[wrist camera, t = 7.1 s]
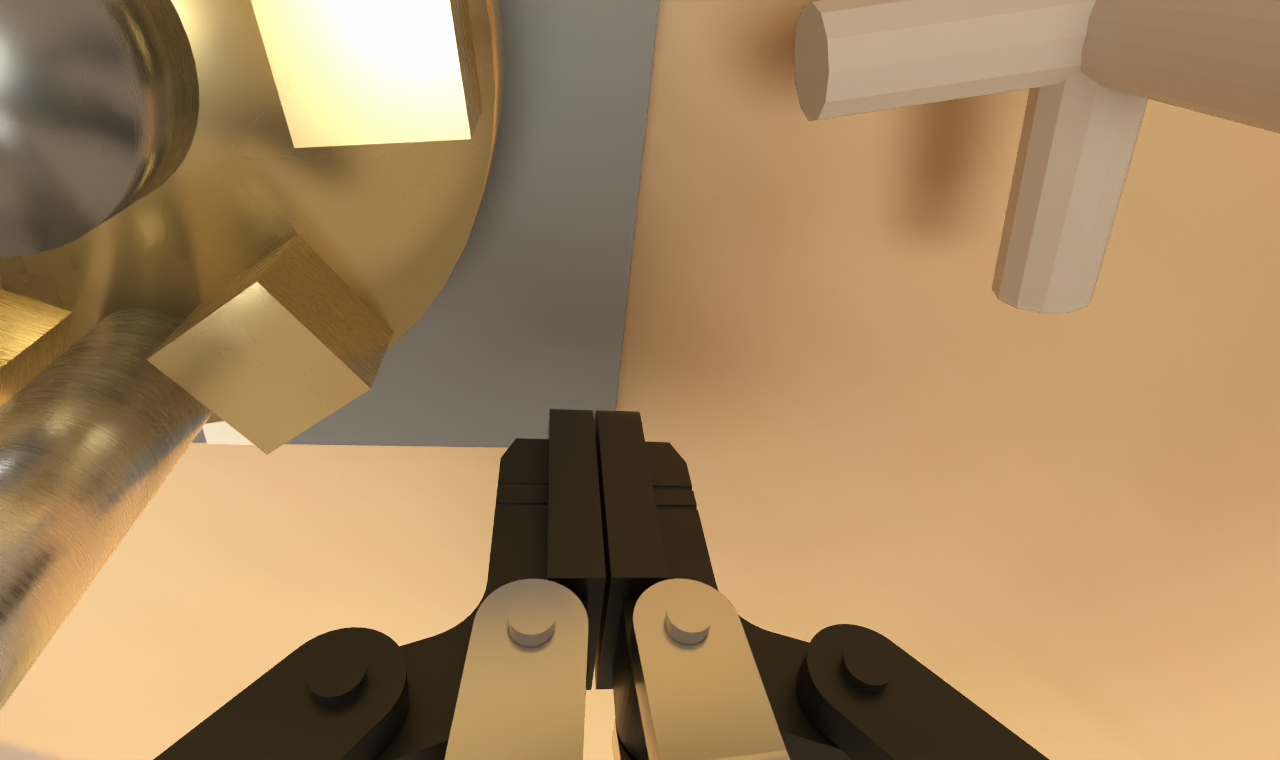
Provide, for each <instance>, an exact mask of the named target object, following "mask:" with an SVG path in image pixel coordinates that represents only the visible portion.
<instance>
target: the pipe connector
mask: <svg viewBox="0 0 1280 760" xmlns="http://www.w3.org/2000/svg"><path fill="white" fill-rule="evenodd" d="M794 68H795V84H796V89H797V93H798V98H799V102H800V106H801V109H802V111H803V112H804V114H805V116H806V117H807V119H808V120H809V121H813V120H820V119H827V118H833V117H840V116H847V115H854V114H860V113H867V112H874V111H881V110H887V109H894V108H901V107H908V106H914V105H921V104H928V103H935V102H941V101H948V100H955V99H962V98H968V97H975V96H982V95H989V94H995V93H1002V92H1009V91H1016V90H1022V89H1029V88H1030V91H1029V96H1028V101H1027V106H1026V112H1025V117H1024V122H1023V127H1022V133H1021V138H1020V143H1019V148H1018V154H1017V159H1016V164H1015V170H1014V175H1013V180H1012V185H1011V191H1010V196H1009V201H1008V206H1007V212H1006V217H1005V222H1004V227H1003V233H1002V238H1001V243H1000V248H999V254H998V259H997V264H996V269H995V275H994V280H993V285H992V290H993V292H994V293H995V295H996V297H997V298H998V299H999V300H1001V301H1003V302H1005V303H1007V304H1009V305H1011V306H1013V307H1015V308H1018V309H1023V310H1028V311H1033V312H1038V313H1069V312H1072V311H1075V310H1078V309H1081V308H1084V307H1086V306H1088V304H1089V302H1090V300H1091V298H1092V296H1093V292H1094V289H1095V285H1096V281H1097V278H1098V274H1099V271H1100V267H1101V264H1102V260H1103V257H1104V253H1105V250H1106V246H1107V243H1108V239H1109V235H1110V232H1111V228H1112V225H1113V221H1114V218H1115V214H1116V211H1117V207H1118V204H1119V200H1120V197H1121V193H1122V190H1123V186H1124V182H1125V179H1126V175H1127V172H1128V168H1129V165H1130V161H1131V158H1132V154H1133V151H1134V147H1135V144H1136V140H1137V136H1138V133H1139V129H1140V126H1141V122H1142V119H1143V115H1144V112H1145V108H1146V105H1147V101H1148V99H1152V100H1155V101H1159V102H1163V103H1167V104H1171V105H1174V106H1178V107H1182V108H1186V109H1189V110H1193V111H1197V112H1201V113H1205V114H1208V115H1212V116H1216V117H1220V118H1223V119H1227V120H1231V121H1235V122H1239V123H1242V124H1246V125H1250V126H1254V127H1257V128H1261V129H1265V130H1269V131H1273V132H1276V133H1280V0H820V1H813V2H810V3H809V4H808V5H806V6H805V7H803V8H802V11H801V14H800V18H799V21H798V24H797V27H796V36H795V48H794Z"/></svg>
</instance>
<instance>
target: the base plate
mask: <svg viewBox="0 0 1280 760" xmlns="http://www.w3.org/2000/svg"><path fill="white" fill-rule="evenodd" d="M500 1H501V7H502V16H503V32H504V49H505V76H504V92H503V108H502V115H501V120H500V125H499V130H498V135H497V141H496V146H495V151H494V155H493V159H492V163H491V167H490V171H489V174H488V178H487V182H486V186H485V189H484V193H483V197H482V200H481V203H480V206H479V209H478V212H477V215H476V218H475V221H474V223H473V226H472V229H471V232H470V235H469V238H468V241H467V244H466V246H465V248H464V250H463V252H462V253H461V255H460V257H459V259H458V261H457V263H456V265H455V267H454V269H453V271H452V273H451V275H450V277H449V278H448V280H447V282H446V284H445V286H444V287H443V288H442V290H441V291H440V292H439V294H438V295H437V296H436V298H435V299H434V301H433V302H432V303H431V305H430V306H429V307H428V309H427V310H426V312H425V313H424V314H423V316H422V317H421V318H420V319H419V320H418V322H417V323H416V324H415V325H414V326H413V327H412V328H411V329H410V330H409V331H408V332H407V333H406V334H405V335H404V336H403V337H402V338H401V339H400V340H399V341H398V342H397V343H396V344H395V345H394V346H393V347H392V348H391V349H389V350H388V351H387V352H386V353H385V355H384V358H383V360H382V363H381V365H380V368H379V370H378V373H377V375H376V378H375V380H374V383H373V385H372V388H371V389H370V390H368V391H367V392H365V393H364V394H362V395H360V396H359V397H357V398H356V399H354V400H353V401H351V402H349V403H348V404H346V405H345V406H343V407H341V408H340V409H338V410H337V411H335V412H334V413H332V414H330V415H329V416H327V417H326V418H324V419H323V420H321V421H319V422H318V423H316V424H315V425H313V426H311V427H310V428H308V429H307V430H305V431H304V432H302V433H300V434H299V435H297V436H296V437H294V438H292V439H291V440H289V441H288V442H286V443H285V444H317V445H381V446H446V447H510V446H511V444H512V443H513V442H514V440H515V439H516V438H527V439H548V424H549V409H570V410H593V414H594V416H595V412H596V410H602V411H615V409H616V400H617V390H618V381H619V372H620V362H621V353H622V344H623V334H624V325H625V316H626V306H627V297H628V288H629V278H630V269H631V260H632V250H633V241H634V232H635V222H636V213H637V204H638V194H639V185H640V176H641V166H642V157H643V148H644V138H645V129H646V120H647V110H648V101H649V92H650V82H651V73H652V64H653V55H654V45H655V36H656V27H657V17H658V8H659V0H500ZM192 443H207V444H243V445H254V444H253V443H252V442H250V441H249V440H248V439H247V438H245V437H244V436H243V435H242V434H240V433H239V432H238V431H236V430H235V429H234V428H233V427H231V426H230V425H229V424H228V423H226V422H225V421H222V422H215V423H207V424H205V425H204V426H203V427H202V429H201V430H200V432H199V433H198V434H197V436H196V437H195V439H194V440H193V441H192Z"/></svg>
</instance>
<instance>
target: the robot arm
mask: <svg viewBox="0 0 1280 760" xmlns="http://www.w3.org/2000/svg"><path fill="white" fill-rule="evenodd" d="M696 506H697V505H696V501H695V497H694V493H693V491H692V484H691V480H690V476H689V472H688V468H687V464H686V462H685V461H684V460H683V459H682V457H681V456H680V455H679V454H678V453H677V451H676V450H675V449H674V448H673V447H672V445H671V444H670V443H667V442H645V439H644V434H643V428H642V422H641V417H640V413H639V412H629V411H602V410H596V412H595V416H594V414H593V410H570V409H549V424H548V439H527V438H516V439H515V440H514V442H513V443H512V444H511V446H510V447H509V448H508V450H507V451H506V452H505V454H504V455H503V456H502V457H501V461H500V470H499V479H498V489H497V498H496V508H495V516H494V526H493V535H492V544H491V554H490V563H489V572H488V581H487V587H486V591H485V593H484V596H483V598H482V600H481V602H480V603H479V605H478V607H477V608H476V609H475V610H474V611H473V612H472V614H471V615H470V616H468V617H467V618H466V619H465V620H464V621H463V622H461V623H460V624H458V625H457V626H455V627H454V628H452V629H450V630H448V631H446V632H444V633H441V634H438V635H436V636H433V637H430V638H426V639H423V640H420V641H416V642H413V643H410V644H406V645H403V646H400V647H399V646H398V645H397V643H396V642H394V641H393V640H392V639H391V638H390V637H388V636H387V635H385V634H383V633H381V632H379V631H376V630H373V629H367V628H355V627H352V628H343V629H338V630H334V631H330V632H327V633H325V634H322V635H319V636H317V637H315V638H313V639H311V640H309V641H308V642H306V643H305V644H303V645H302V646H300V647H299V648H297V649H296V650H295V651H294V652H292V653H291V654H290V655H288V656H287V657H286V658H285V659H283V660H282V661H281V662H279V663H278V664H277V665H275V666H274V667H273V668H272V669H270V670H269V671H268V672H266V673H265V674H264V675H262V676H261V677H260V678H259V679H257V680H256V681H255V682H253V683H252V684H251V685H250V686H248V687H247V688H246V689H244V690H243V691H242V692H240V693H239V694H238V695H237V696H235V697H234V698H233V699H231V700H230V701H229V702H227V703H226V704H225V705H224V706H222V707H221V708H220V709H218V710H217V711H216V712H215V713H213V714H212V715H211V716H209V717H208V718H207V719H205V720H204V721H203V722H202V723H200V724H199V725H198V726H196V727H195V728H194V729H192V730H191V731H190V732H189V733H187V734H186V735H185V736H183V737H182V738H181V739H179V740H178V741H177V742H176V743H174V744H173V745H172V746H170V747H169V748H168V749H167V750H165V751H164V752H163V753H161V754H160V755H159V756H157V757H156V758H155V759H154V760H583V741H584V718H585V696H586V690H591V687H592V680H593V672H594V665H595V682H596V689H613V690H614V704H615V723H614V729H613V735H612V749H613V756H614V760H1049V759H1048V758H1046V757H1045V756H1044V755H1042V754H1041V753H1040V752H1038V751H1037V750H1036V749H1034V748H1033V747H1032V746H1030V745H1029V744H1028V743H1026V742H1025V741H1024V740H1022V739H1021V738H1020V737H1018V736H1017V735H1016V734H1014V733H1013V732H1012V731H1010V730H1009V729H1008V728H1006V727H1005V726H1004V725H1002V724H1001V723H1000V722H998V721H997V720H996V719H994V718H993V717H992V716H990V715H989V714H988V713H986V712H985V711H984V710H982V709H981V708H980V707H978V706H977V705H976V704H974V703H973V702H972V701H970V700H969V699H968V698H966V697H965V696H964V695H962V694H961V693H960V692H958V691H957V690H956V689H954V688H953V687H952V686H950V685H949V684H948V683H946V682H945V681H944V680H942V679H941V678H940V677H938V676H937V675H936V674H934V673H933V672H932V671H930V670H929V669H928V668H926V667H925V666H924V665H922V664H921V663H920V662H918V661H917V660H916V659H914V658H913V657H912V656H910V655H909V654H908V653H906V652H905V651H904V650H902V649H901V648H900V647H898V646H897V645H896V644H894V643H893V642H892V641H890V640H889V639H887V638H886V637H884V636H883V635H881V634H879V633H877V632H875V631H873V630H870V629H868V628H865V627H861V626H857V625H850V624H838V625H833V626H829V627H827V628H825V629H822V630H821V631H820V632H818V633H817V634H816V635H815V636H814V637H813V639H812V640H811V642H810V643H808V642H805V641H801V640H798V639H794V638H791V637H787V636H784V635H780V634H776V633H773V632H770V631H767V630H764V629H761V628H759V627H757V626H755V625H753V624H751V623H749V622H748V621H746V620H744V619H743V618H741V617H740V616H739V615H738V614H737V611H736V609H735V608H734V607H733V605H732V604H731V602H730V601H729V600H728V599H727V598H726V597H725V596H724V595H723V594H721V593H720V592H719V590H718V588H717V585H716V582H715V578H714V574H713V570H712V566H711V562H710V558H709V554H708V550H707V546H706V541H705V537H704V533H703V529H702V525H701V521H700V517H699V513H698V510H697V509H696Z"/></svg>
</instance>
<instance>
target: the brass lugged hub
mask: <svg viewBox="0 0 1280 760" xmlns="http://www.w3.org/2000/svg"><path fill="white" fill-rule="evenodd" d="M504 76H505V49H504V32H503V16H502V7H501V1H500V0H0V710H1V709H2V707H3V706H4V704H5V703H6V702H7V700H8V699H9V697H10V696H11V695H12V693H13V692H14V690H15V689H16V688H17V686H18V685H19V683H20V682H21V681H22V679H23V678H24V676H25V675H26V674H27V672H28V671H29V669H30V668H31V667H32V665H33V664H34V662H35V661H36V660H37V658H38V657H39V655H40V654H41V653H42V651H43V650H44V648H45V647H46V646H47V644H48V643H49V641H50V640H51V639H52V637H53V636H54V634H55V633H56V632H57V630H58V629H59V627H60V626H61V625H62V623H63V622H64V620H65V619H66V618H67V616H68V615H69V613H70V612H71V611H72V609H73V608H74V606H75V605H76V604H77V602H78V601H79V599H80V598H81V597H82V595H83V594H84V592H85V591H86V590H87V588H88V587H89V585H90V584H91V583H92V581H93V580H94V578H95V577H96V576H97V574H98V573H99V571H100V570H101V569H102V567H103V566H104V564H105V563H106V562H107V560H108V559H109V557H110V556H111V555H112V553H113V552H114V550H115V549H116V548H117V546H118V545H119V543H120V542H121V541H122V539H123V538H124V536H125V535H126V534H127V532H128V531H129V529H130V528H131V527H132V525H133V524H134V522H135V521H136V520H137V518H138V517H139V516H140V514H141V513H142V511H143V510H144V509H145V507H146V506H147V504H148V503H149V502H150V500H151V499H152V497H153V496H154V495H155V493H156V492H157V490H158V489H159V488H160V486H161V485H162V483H163V482H164V481H165V479H166V478H167V476H168V475H169V474H170V472H171V471H172V469H173V468H174V467H175V465H176V464H177V462H178V461H179V460H180V458H181V457H182V455H183V454H184V453H185V451H186V450H187V448H188V447H189V446H190V444H191V443H192V441H193V440H194V439H195V437H196V436H197V434H198V433H199V432H200V430H201V429H202V427H203V426H204V425H205V424H207V423H215V422H222V421H225V422H226V423H228V424H229V425H230V426H231V427H233V428H234V429H235V430H236V431H238V432H239V433H240V434H242V435H243V436H244V437H245V438H247V439H248V440H249V441H250V442H252V443H253V444H254V445H256V446H257V447H258V448H259V449H261V450H262V451H263V452H264V453H266V454H269V453H270V452H272V451H273V450H275V449H277V448H278V447H280V446H281V445H283V444H285V443H286V442H288V441H289V440H291V439H292V438H294V437H296V436H297V435H299V434H300V433H302V432H304V431H305V430H307V429H308V428H310V427H311V426H313V425H315V424H316V423H318V422H319V421H321V420H323V419H324V418H326V417H327V416H329V415H330V414H332V413H334V412H335V411H337V410H338V409H340V408H341V407H343V406H345V405H346V404H348V403H349V402H351V401H353V400H354V399H356V398H357V397H359V396H360V395H362V394H364V393H365V392H367V391H368V390H370V389H371V388H372V385H373V383H374V380H375V378H376V375H377V373H378V370H379V368H380V365H381V363H382V360H383V358H384V355H385V353H386V352H387V351H388V350H389V349H391V348H392V347H393V346H394V345H395V344H396V343H397V342H398V341H399V340H400V339H401V338H402V337H403V336H404V335H405V334H406V333H407V332H408V331H409V330H410V329H411V328H412V327H413V326H414V325H415V324H416V323H417V322H418V320H419V319H420V318H421V317H422V316H423V314H424V313H425V312H426V310H427V309H428V307H429V306H430V305H431V303H432V302H433V301H434V299H435V298H436V296H437V295H438V294H439V292H440V291H441V290H442V288H443V287H444V286H445V284H446V282H447V280H448V278H449V277H450V275H451V273H452V271H453V269H454V267H455V265H456V263H457V261H458V259H459V257H460V255H461V253H462V252H463V250H464V248H465V246H466V244H467V241H468V238H469V235H470V232H471V229H472V226H473V223H474V221H475V218H476V215H477V212H478V209H479V206H480V203H481V200H482V197H483V193H484V189H485V186H486V182H487V178H488V174H489V171H490V167H491V163H492V159H493V155H494V151H495V146H496V141H497V135H498V130H499V125H500V120H501V115H502V108H503V92H504Z"/></svg>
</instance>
